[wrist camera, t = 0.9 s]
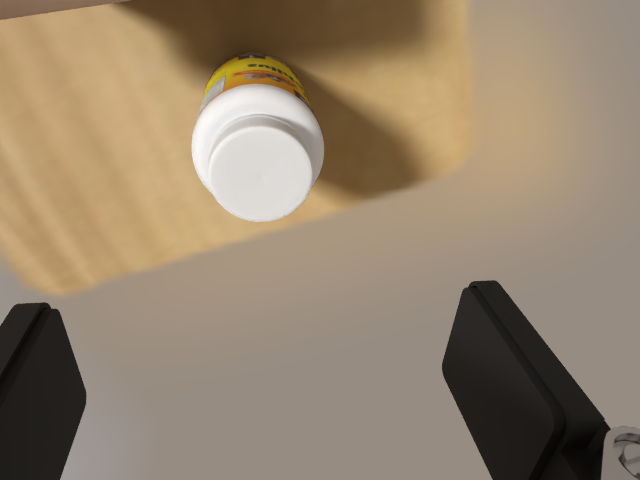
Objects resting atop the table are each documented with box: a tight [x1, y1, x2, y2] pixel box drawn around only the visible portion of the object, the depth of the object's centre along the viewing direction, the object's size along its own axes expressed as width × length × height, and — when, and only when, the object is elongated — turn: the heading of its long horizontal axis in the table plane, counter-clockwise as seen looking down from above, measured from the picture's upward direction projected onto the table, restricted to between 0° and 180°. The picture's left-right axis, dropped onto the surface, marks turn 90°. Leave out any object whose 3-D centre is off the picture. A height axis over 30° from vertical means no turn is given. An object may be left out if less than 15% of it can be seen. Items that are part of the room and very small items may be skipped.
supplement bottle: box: [192, 53, 324, 222], centre depth 21 cm, size 6×6×10 cm
